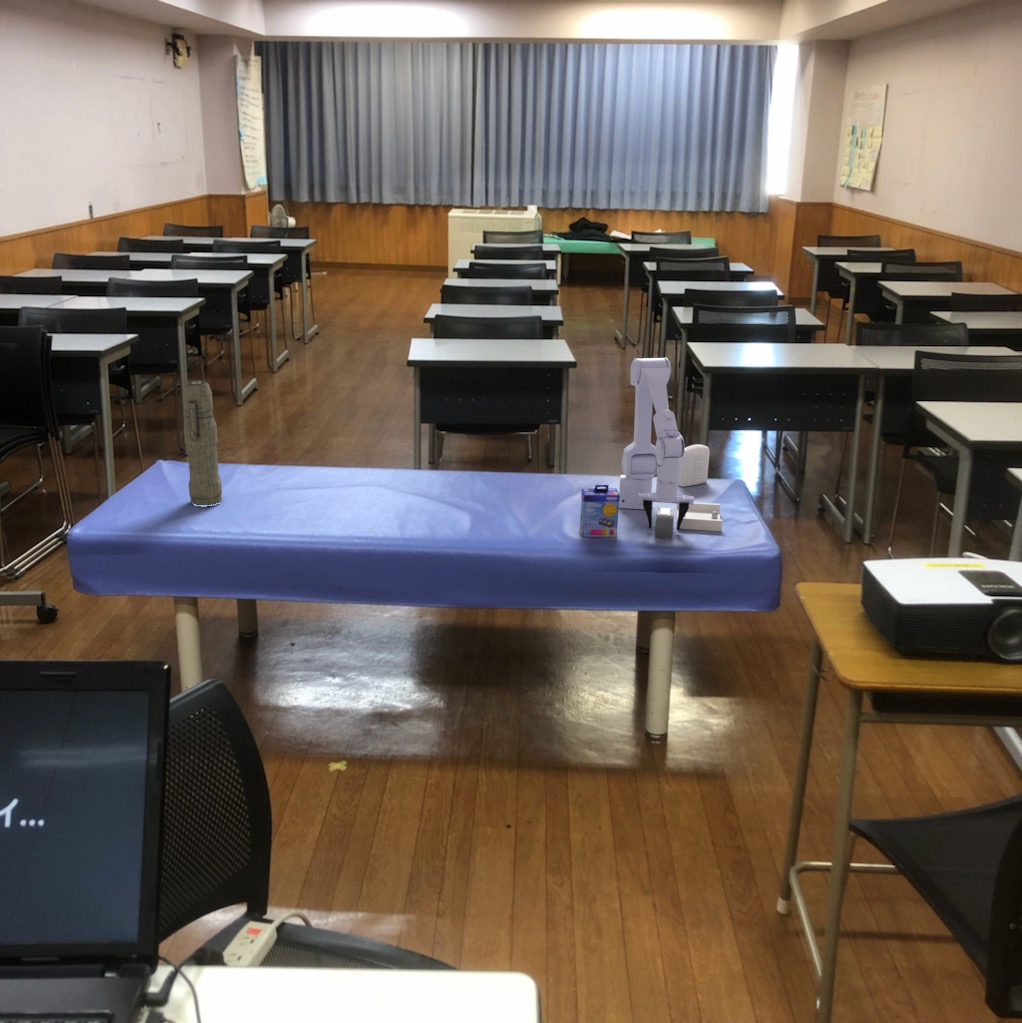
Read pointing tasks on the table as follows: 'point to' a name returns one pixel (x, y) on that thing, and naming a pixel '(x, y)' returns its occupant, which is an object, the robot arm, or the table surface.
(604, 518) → the ink cartridge box
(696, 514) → the tray
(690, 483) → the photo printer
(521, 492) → the table surface
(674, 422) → the robot arm
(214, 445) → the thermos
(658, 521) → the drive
